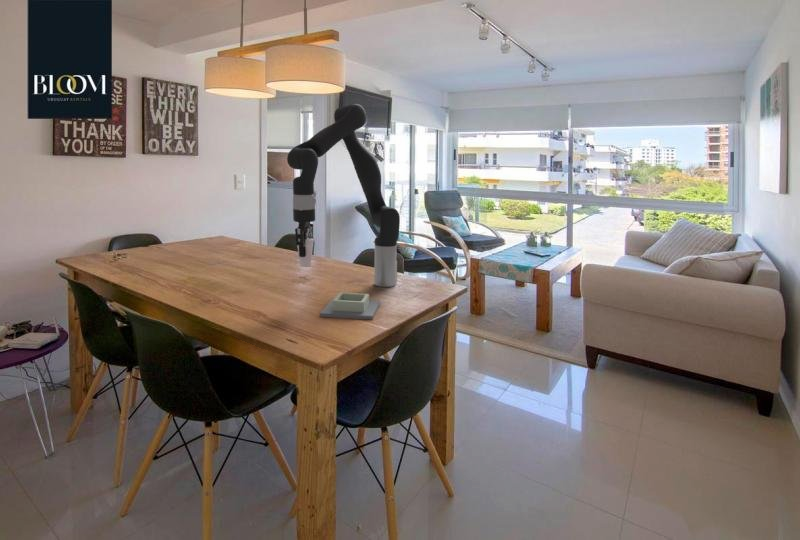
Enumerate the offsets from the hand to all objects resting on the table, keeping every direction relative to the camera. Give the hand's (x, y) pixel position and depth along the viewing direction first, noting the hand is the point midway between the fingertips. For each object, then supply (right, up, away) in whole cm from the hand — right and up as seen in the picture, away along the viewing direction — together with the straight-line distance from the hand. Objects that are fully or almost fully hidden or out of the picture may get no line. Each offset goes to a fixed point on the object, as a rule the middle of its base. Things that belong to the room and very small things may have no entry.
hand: (305, 254), depth 172 cm
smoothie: (0, -4, +1) cm, 4 cm away
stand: (+16, -20, -1) cm, 26 cm away
